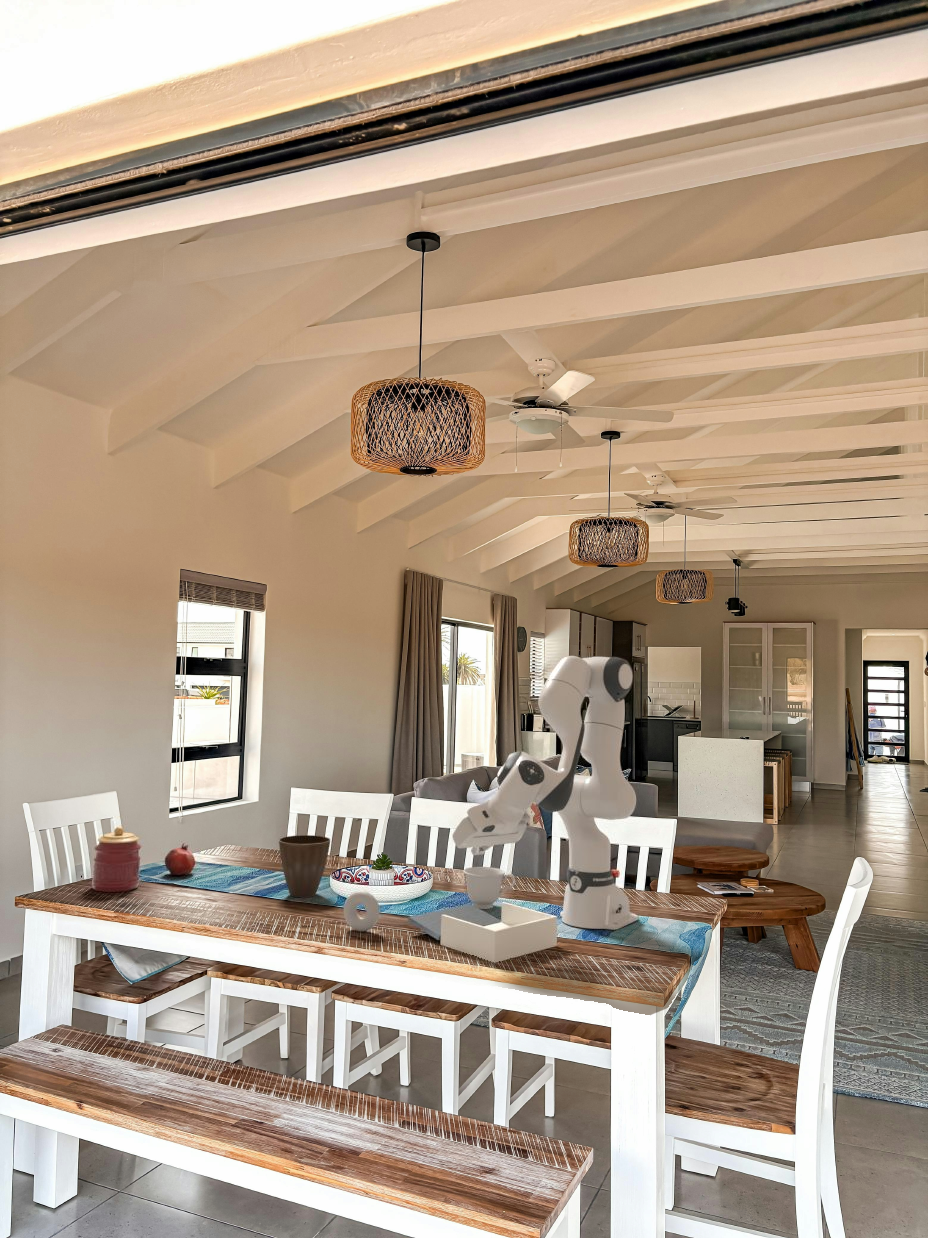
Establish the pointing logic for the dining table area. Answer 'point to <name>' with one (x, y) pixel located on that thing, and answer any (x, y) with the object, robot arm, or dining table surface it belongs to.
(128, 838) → the canister
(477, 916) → the grey rectangular panel
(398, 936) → the dining table surface
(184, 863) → the fruit
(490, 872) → the teacup
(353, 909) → the donut
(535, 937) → the drawer box
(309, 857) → the plant pot
